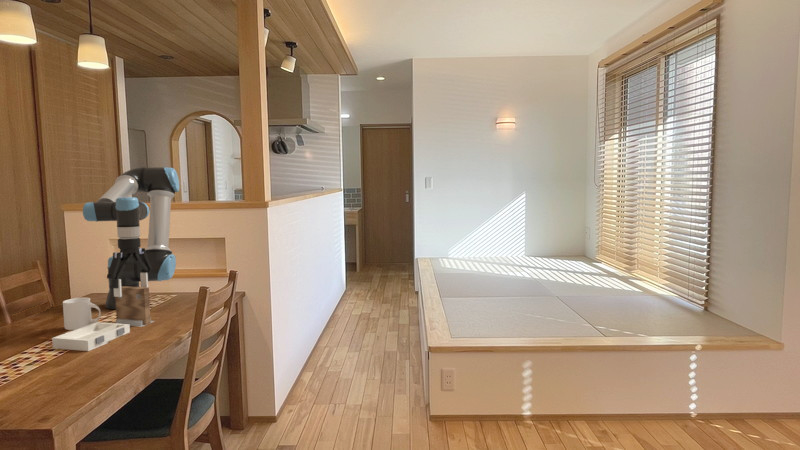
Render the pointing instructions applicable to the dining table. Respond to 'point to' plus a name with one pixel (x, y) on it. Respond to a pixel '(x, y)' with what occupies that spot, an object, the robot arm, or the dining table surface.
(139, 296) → the door
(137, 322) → the rack
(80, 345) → the white tray
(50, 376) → the dining table surface
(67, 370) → the dining table surface
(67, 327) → the mug
